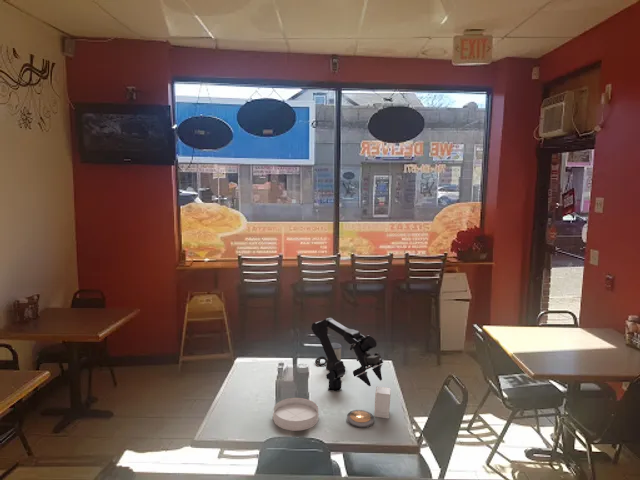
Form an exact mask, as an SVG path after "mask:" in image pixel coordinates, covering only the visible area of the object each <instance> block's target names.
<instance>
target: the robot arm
mask: <svg viewBox="0 0 640 480" xmlns="http://www.w3.org/2000/svg"><path fill="white" fill-rule="evenodd" d="M329 329H331V330H332V331H334V332H335V333H337V334H339V335H340V336H342V337H343V340H344V341H345V342H347V343H348V344H349V345H350V348H349V350H350V351H352V350H353V352H354V353H355V355H356V357H357V358H356V362H359V364H360V366H359V367H358V368H356V369H354V370H352V375H353V377H356V378H358V379H359V380H360V381H363V382H364V383H365V384H366V385H367V386H368V387H371V386H372V383H371V381H370V379H369V377H368V371H367V370H369V369H371V368H372V369H371V371H372V372H373V373H374V374H375V376H376V377H377V379H378V380H379V381H380V382H381V381H382V380H383V377H382V371H381V368H382V366H383V364H384V360H383V359H382V356H381V354H380V353H379V352H376V353H374V354H373V355H371V353H368V352H369V351H371V350H373V349H375V348H376V347H377V345H378V344H377V340H376V339H375V338H373V336H371V335H370V334H368V335H366V336H365V335H363V334H362V333H361V332H360V331H359V330H357V329H356V330H355V329H353V328H348V327H346V325H345V326H344V325H343V324H342V323H340V322H338V321H336V320H335V319H333V317H328V318H324V320H319V321H316V322H313V323H312V324H311V330H312V332H313V335H315V336H316V337H317V338H318V339H319V342H320V343H321V347H322V349H323V351H324V353H325V356H326V359H327V358H328V361H329V370H328V371H329V372H328V373H327V374H326V375H325V376H326V379H327V380H328V387H327V390H328V391H330V392H331V391H332V392H340V390H341V389H342V387H343V386H342V385H343V384H342V383H343V381H342V378H343V377H344V375H345V374H346V371H347V370H346V366H345V364H344V361H343V360H341V361H339V360H338V359H337V357H336V354H335V352H334V350H333V347H332V345H331V343H332V342H331V341H330V338H329V336H328V332H329Z"/></svg>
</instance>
